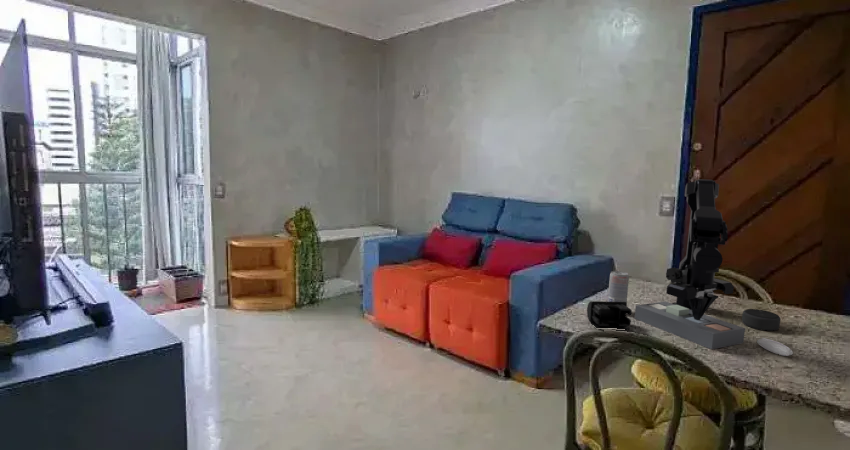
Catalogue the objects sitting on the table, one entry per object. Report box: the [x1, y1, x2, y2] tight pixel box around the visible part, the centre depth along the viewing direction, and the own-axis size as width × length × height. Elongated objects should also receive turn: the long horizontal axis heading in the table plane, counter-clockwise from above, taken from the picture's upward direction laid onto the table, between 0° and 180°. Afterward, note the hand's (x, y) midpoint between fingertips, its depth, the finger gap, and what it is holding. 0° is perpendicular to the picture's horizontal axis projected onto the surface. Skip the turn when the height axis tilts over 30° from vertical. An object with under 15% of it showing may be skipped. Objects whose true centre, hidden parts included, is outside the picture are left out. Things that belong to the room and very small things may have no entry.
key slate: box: [685, 317, 709, 324], centre depth 128 cm, size 4×4×2 cm
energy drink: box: [607, 270, 630, 303], centre depth 145 cm, size 5×5×12 cm
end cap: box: [586, 300, 633, 331], centre depth 133 cm, size 10×7×7 cm
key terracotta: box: [706, 324, 731, 331], centre depth 123 cm, size 4×4×2 cm
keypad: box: [634, 301, 746, 350], centre depth 131 cm, size 12×24×4 cm, turn 23°
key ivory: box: [649, 304, 666, 310], centre depth 139 cm, size 4×4×2 cm
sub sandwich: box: [756, 337, 794, 357], centre depth 118 cm, size 3×8×3 cm, turn 16°
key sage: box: [666, 305, 689, 316], centre depth 134 cm, size 4×4×2 cm
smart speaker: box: [741, 308, 781, 332], centre depth 136 cm, size 9×9×4 cm
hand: (696, 319), depth 128 cm, fingers closed, pressing on key slate
